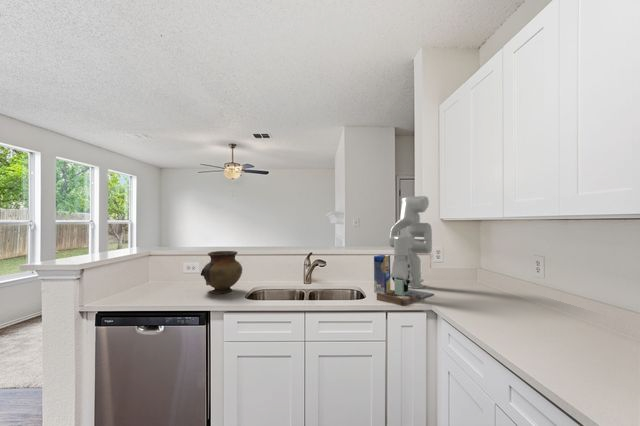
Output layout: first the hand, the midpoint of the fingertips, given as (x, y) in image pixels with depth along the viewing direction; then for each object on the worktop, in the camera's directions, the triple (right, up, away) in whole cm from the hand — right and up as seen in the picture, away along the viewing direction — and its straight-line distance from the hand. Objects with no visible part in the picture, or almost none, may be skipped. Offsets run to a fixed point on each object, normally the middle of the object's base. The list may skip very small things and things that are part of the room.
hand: (401, 290), depth 171 cm
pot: (-107, -6, +18) cm, 109 cm away
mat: (+11, -5, +9) cm, 15 cm away
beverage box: (-7, -6, +18) cm, 20 cm away
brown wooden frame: (-2, -5, -2) cm, 5 cm away
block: (0, -2, 0) cm, 2 cm away
